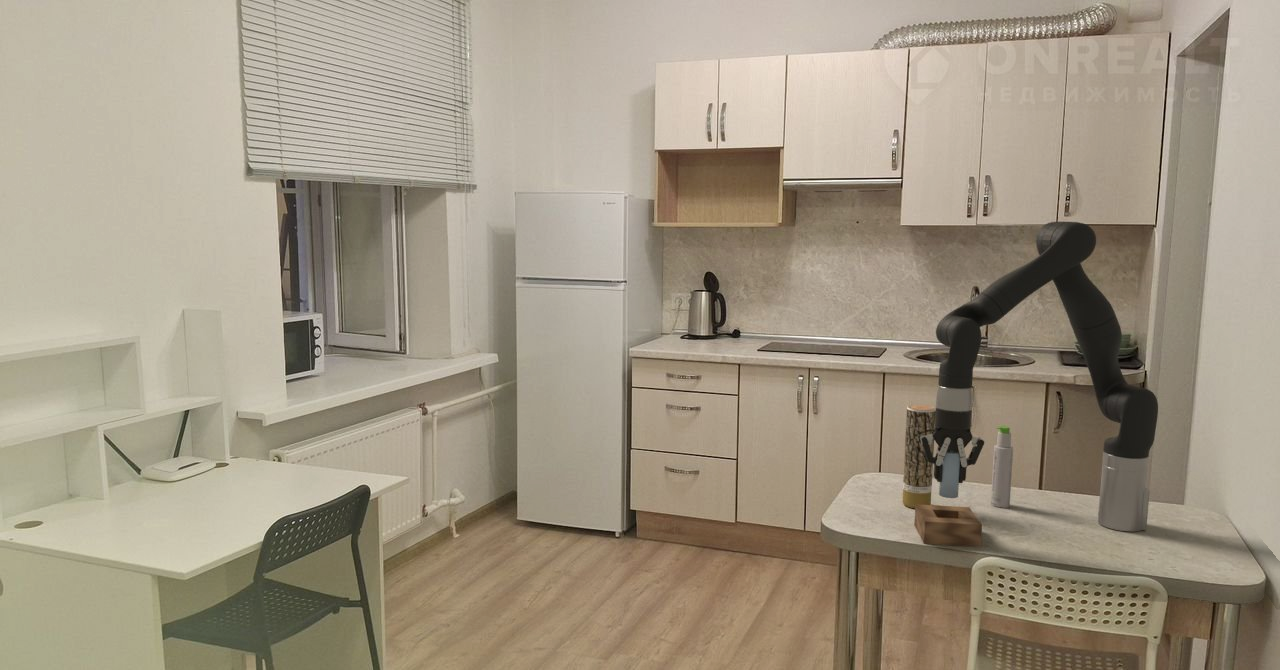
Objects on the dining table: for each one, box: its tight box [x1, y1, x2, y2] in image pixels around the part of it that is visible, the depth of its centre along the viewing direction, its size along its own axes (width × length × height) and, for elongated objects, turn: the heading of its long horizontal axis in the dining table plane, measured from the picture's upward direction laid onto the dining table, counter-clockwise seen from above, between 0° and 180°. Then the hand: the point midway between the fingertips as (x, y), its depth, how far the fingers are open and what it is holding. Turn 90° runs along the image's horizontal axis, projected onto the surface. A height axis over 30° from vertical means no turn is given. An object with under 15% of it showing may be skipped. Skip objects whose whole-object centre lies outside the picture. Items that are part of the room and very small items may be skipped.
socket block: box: [913, 504, 983, 548], centre depth 193 cm, size 12×12×5 cm
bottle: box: [990, 425, 1014, 509], centre depth 214 cm, size 4×4×20 cm
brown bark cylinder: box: [902, 404, 936, 509], centre depth 213 cm, size 7×7×25 cm
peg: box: [938, 451, 960, 499], centre depth 192 cm, size 4×4×10 cm
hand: (949, 481), depth 192 cm, fingers closed on peg, 4 cm apart
